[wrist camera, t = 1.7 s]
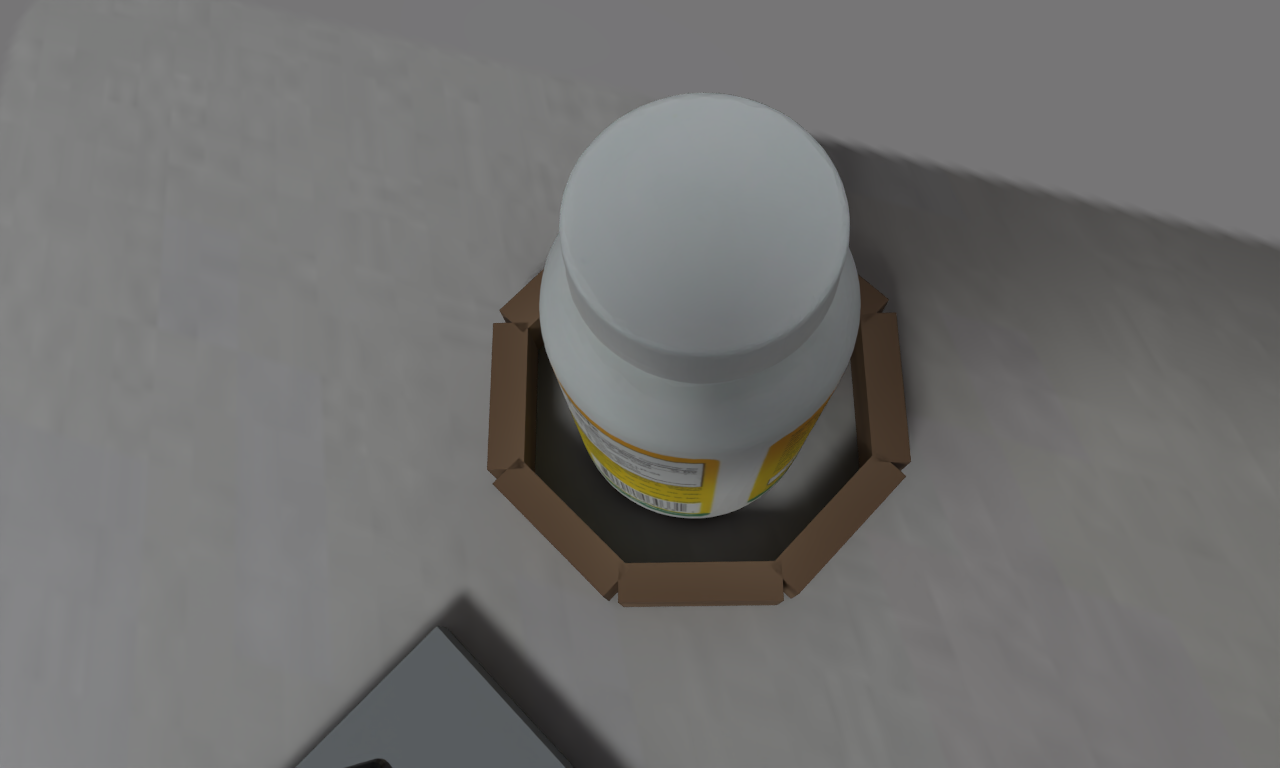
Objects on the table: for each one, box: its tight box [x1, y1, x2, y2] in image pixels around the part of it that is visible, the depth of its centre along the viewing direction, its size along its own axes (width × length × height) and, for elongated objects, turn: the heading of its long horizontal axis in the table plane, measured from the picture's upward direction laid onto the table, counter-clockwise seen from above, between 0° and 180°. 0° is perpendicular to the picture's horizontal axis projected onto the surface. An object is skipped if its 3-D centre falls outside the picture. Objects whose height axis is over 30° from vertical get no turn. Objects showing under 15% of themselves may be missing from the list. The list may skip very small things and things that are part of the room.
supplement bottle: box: [539, 93, 861, 518], centre depth 17 cm, size 5×5×10 cm
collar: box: [487, 269, 911, 607], centre depth 21 cm, size 9×9×2 cm
